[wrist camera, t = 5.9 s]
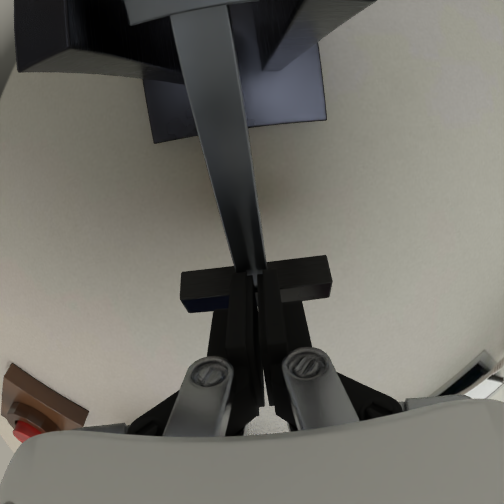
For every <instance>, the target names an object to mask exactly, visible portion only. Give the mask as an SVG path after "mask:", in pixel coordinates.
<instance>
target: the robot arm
mask: <svg viewBox="0 0 504 504" xmlns="http://www.w3.org/2000/svg"><path fill="white" fill-rule="evenodd" d="M257 291H258V307H257V301H256V294H255V287H254V281H253V275H248V276H247V272H240V273H232V275H231V285H230V296H229V307H228V308H225V309H215V310H214V312H213V318H212V325H211V331H210V338H209V345H208V352H207V357H204V358H201V359H199V360H197V361H195V362H194V363H193V364H192V365H191V366H190V367H189V369H188V370H187V372H186V375H185V378H184V380H183V383H182V385H181V388H180V390H179V391H177V392H176V393H174V394H173V395H171V396H170V397H168V398H167V399H166V400H164V401H163V402H161V403H160V404H158V405H157V406H155V407H154V408H152V409H151V410H149V411H148V412H146V413H145V414H143V415H142V416H140V417H139V418H137V419H136V420H135V421H134V422H132V424H131V425H128V426H127V425H126V424H125V423H119V424H111V425H102V426H92V427H81V428H75V429H72V430H64V431H52V432H48V433H43V434H39V435H35V436H33V437H31V438H28V439H27V440H26V441H24V442H23V443H22V444H21V445H20V447H19V448H18V449H17V451H16V452H15V454H14V456H13V458H12V459H11V461H10V463H9V465H8V468H7V470H6V472H5V474H4V477H3V479H2V482H1V484H0V504H504V402H501V401H497V400H491V399H472V398H470V397H468V396H466V395H448V396H437V397H424V398H406V400H405V402H397V401H396V400H395V399H393V398H392V397H390V396H387V395H385V394H383V393H381V392H379V391H376V390H374V389H372V388H370V387H368V386H365V385H363V384H361V383H359V382H357V381H355V380H353V379H350V378H348V377H346V376H344V375H342V374H340V373H338V372H336V370H335V368H334V366H333V364H332V362H331V360H330V358H329V356H328V355H327V354H326V353H325V352H324V351H322V350H320V349H317V348H314V347H312V345H311V340H310V335H309V331H308V326H307V322H306V317H305V313H304V308H303V304H302V301H301V300H297V301H289V302H281V295H280V288H279V281H278V274H277V268H275V269H266V270H262V274H257ZM263 370H264V376H265V382H266V388H267V395H268V401H269V406H275V412H276V415H278V416H279V417H281V418H282V419H284V420H285V421H287V424H288V429H289V432H286V433H276V434H264V435H250V436H247V435H248V423H249V422H250V421H251V420H252V419H254V418H255V417H256V416H259V407H264V406H265V402H264V378H263Z"/></svg>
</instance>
